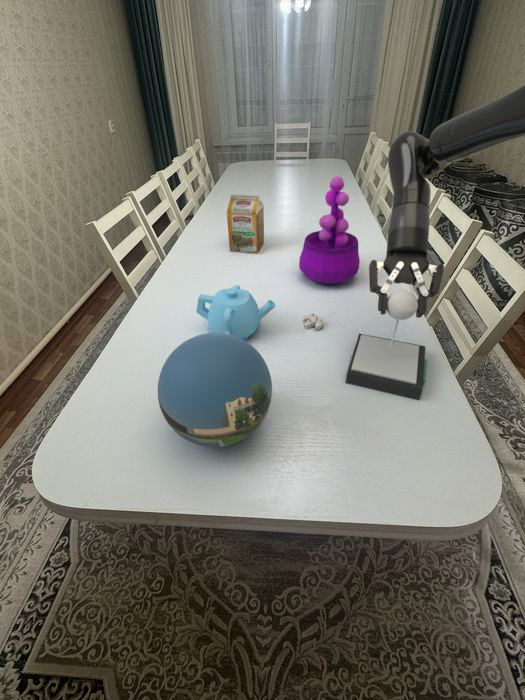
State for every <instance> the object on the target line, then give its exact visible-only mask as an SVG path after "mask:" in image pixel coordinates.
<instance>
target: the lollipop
mask: <svg viewBox="0 0 525 700" xmlns="http://www.w3.org/2000/svg"><path fill="white" fill-rule="evenodd" d="M417 299H418V298H417V296H416V295H415V294H414V293H413V292H412V291H409V290H407V289H399V290H395V291H393V292H392V293H390V295H388V296H387V307H386V313H387V314H388V315H389V316H390V317H391V318H392V319H394V320H396V321H395V325H394V329H393V333H392V335H391V336H392V337H391V344H390V349H389V353H391V350H392V346H393V342H394V340H395V337H396V334H397V330H398V325H399V322H400V321H405V320H408V319H410V318H411V317H413V316H414V315H416V311H417V309H418V301H417Z"/></svg>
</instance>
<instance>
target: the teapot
mask: <svg viewBox="0 0 525 700" xmlns="http://www.w3.org/2000/svg"><path fill="white" fill-rule="evenodd" d="M206 303H207V304H210V305H209V308H207V307H206ZM196 305H197V306H196V314H197V315H199V316H200V317H202V318H204V319H205V320H206V321H207V327H208V330H209V331H210V332H211V333H225V334H230V335H233V336H236V337H239V338H241V339H243V340H244V341H247V340H248V339H249V338H250V336H252V335H253V334H254V333H255V332H256V330H257V329H258V328H259V325H260V321H261V320H262V319H263V318H264V317H265V316H267V314H269V313H270V312H271V311H272V310H274V309H275V308H276V303H275V302H274V301H273V300H272V299H269V300H267V302H266V303H264V304H263V306H261V307H260V308H259V306H258V303H257V301H256V300H255V298H254V296H253V294H251V292H250V291H248V290H247V289H243V288H242V289H241V286H240V285H237V284H235V285H233V286H232V287H231V288H223V289H220V290H218V291H217V292H216V293H215V295H208V294H202V293H200V294H199V296H198V300H197V304H196Z"/></svg>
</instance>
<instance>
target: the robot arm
mask: <svg viewBox="0 0 525 700" xmlns="http://www.w3.org/2000/svg"><path fill="white" fill-rule="evenodd" d="M522 137H525V84H523V85H522V86H520V87H518V88H516V89H515V90H513V91H511V92H509V93H507V94H505V95H503V96H501V97H499V98H496V99H494V100H492V101H489V102H486V103H484V104H482V105H479V106H477V107H475V108H473V109H470V110H467V111H466V112H464V113H461V114H459V115H457V116H455V117H453V118H451V119H448V120H447V121H444V122H443V123H440V124H439V125H438V126H436V127H435V128H434V130H433V131H432V132H431V134H430V136H429V138H427V137H425V136H423V135H422V134H420V133H418V132H415V131H414V130H413V131H412V130H407V131H404V132H401V133H400V134H399V135H397V136H396V137H395V139H394V140H393V142H392V143H391V146H390V148H389V151H388V156H387V169H388V174H389V179H390V185H391V190H392V194H393V196H392V204H391V214H390V218H389V224H388V228H387V234H388V235H387V242H386V243H387V245H386V254H385V259H384V260H383V261H377V260H376V259H372V260H371V261H370V263H369V265H368V276H369V279H368V280H369V291H370V293H371V294H372V293H373V294H375V295H377V296H378V300H377V301H378V302H377V311H378V312H380V315H382V316H383V315H386V314H387V310H386V307H387V298H388V297H389V294H387V292H388V291H389V290H390V288H391V286H392V284H393V283H394V284H406V285H411V286H412V287H413V289H414V291H415V292H416V294H417V297H418V298H417V301H418V309H417V311H416V312H415V318H417V319H418V318H419V319H420V318H422V317H423V316H424V315H425V314H426V312H427V305H428V299H429V298H434V297H435V296H436V295H437V294H439V292H440V288H441V284H442V279H443V274H444V270H445V265H444V264H442V263H439V264H438V265H437V264H430V262H429V261H428V250H429V238H430V237H429V234H430V221H431V220H430V219H431V218H430V208H431V207H430V206H431V193H432V190H431V185H430V183H429V182H428V180H427V179H430V178H432V177H433V176H435V175H436V174H438V173H439V172H441V171H443V170H444V169H445V168H447V167H448V166H449V165H451V164H452V163H455V162H459V161H462V160H465V159H467V158H470V157H474V156H476V155H479V154H482V153H484V152H487V151H490V150H491V149H494V148H496V147H498V146H500V145H502V144H504V143H507V142H509V141H512V140H515V139H519V138H522ZM382 268H383V269H384V271H385V273H386V274H387V276H388V277H387V279H386V281H385V282H384V284H383V285H382V286H381V285H379V279H378V274H379V273H380V272H381V270H382ZM426 271H428V272H429V276H430V277H431V279H430V284H429V288H427V285H426V281H425V279H424V276H423V275H424V273H426Z"/></svg>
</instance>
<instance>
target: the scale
mask: <svg viewBox="0 0 525 700" xmlns="http://www.w3.org/2000/svg"><path fill="white" fill-rule="evenodd" d="M391 340H392V338H391V339H390V338H385V337H380V336H374V335H369V334H365V333H358V335H357V339H356V343H355V346H354V349H353V352H352V356H351V359H350V362H349V365H348V368H347V372H346V377H345V384H349V385H354V386H357V387H361V388H366V389H369V390H373V391H379V392H382V393H386V394H390V395H396V396H399V397H403V398H408V399H412V400H417V401H420V399H421V396H422V393H423V391H424V386H425V384H426V382H427V367H428V365H427V364H428V359H426V346H425V345H422V344H415V343H411V342H405V341H400V340H395V339H394V342H393V346H392V350H391V353H389V349H390V344H391Z"/></svg>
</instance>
